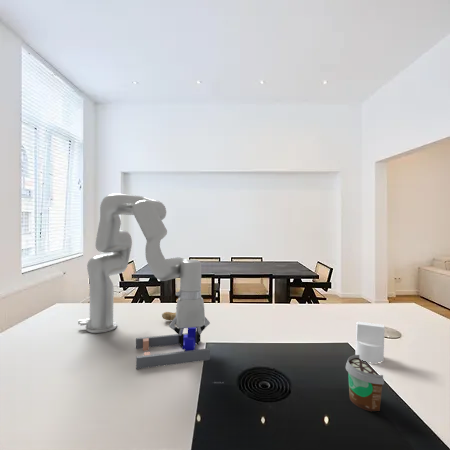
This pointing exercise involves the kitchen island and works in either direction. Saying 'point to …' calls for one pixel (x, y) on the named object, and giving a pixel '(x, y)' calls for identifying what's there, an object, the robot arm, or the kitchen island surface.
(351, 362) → the food container
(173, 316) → the ginger root
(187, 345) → the cable clip
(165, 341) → the guide channel
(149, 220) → the robot arm
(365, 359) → the cylinder with rectangular tab
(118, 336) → the kitchen island surface
